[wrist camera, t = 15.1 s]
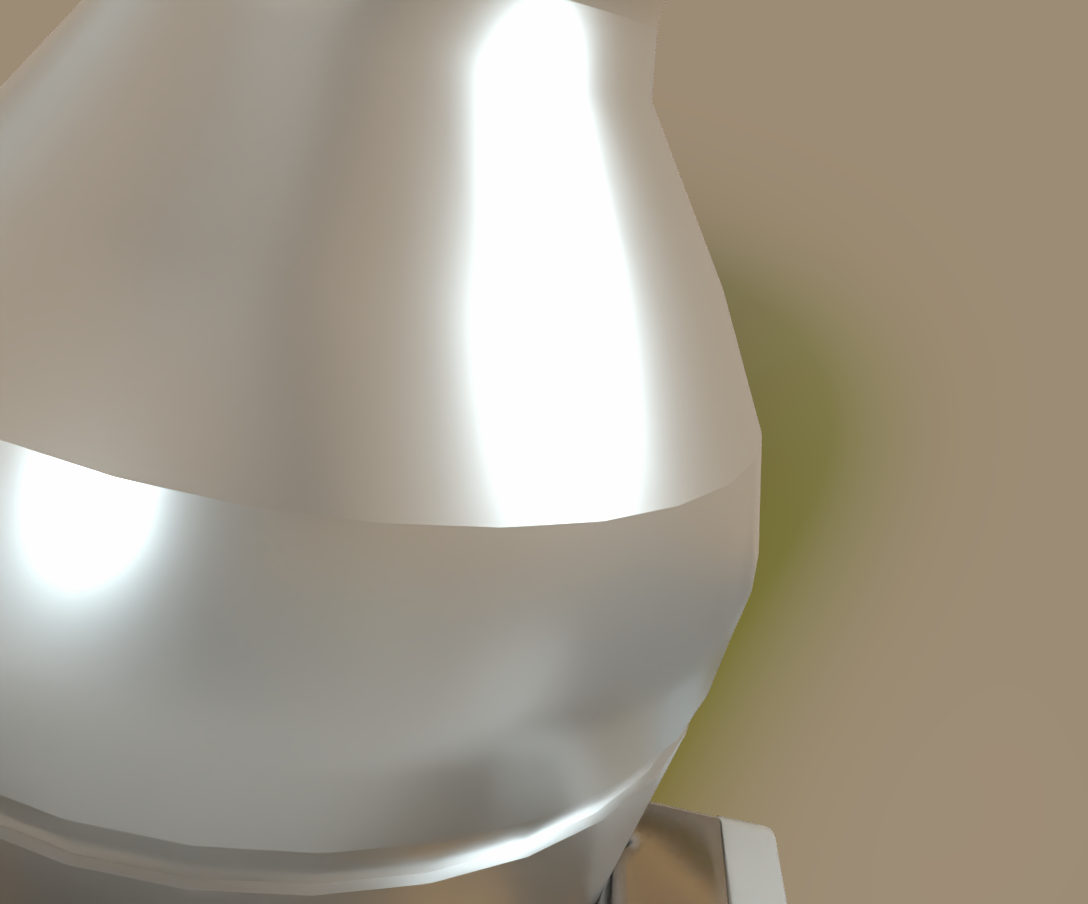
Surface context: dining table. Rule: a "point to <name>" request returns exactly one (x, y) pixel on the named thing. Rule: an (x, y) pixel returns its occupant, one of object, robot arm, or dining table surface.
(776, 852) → the robot arm
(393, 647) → the aluminum water bottle
